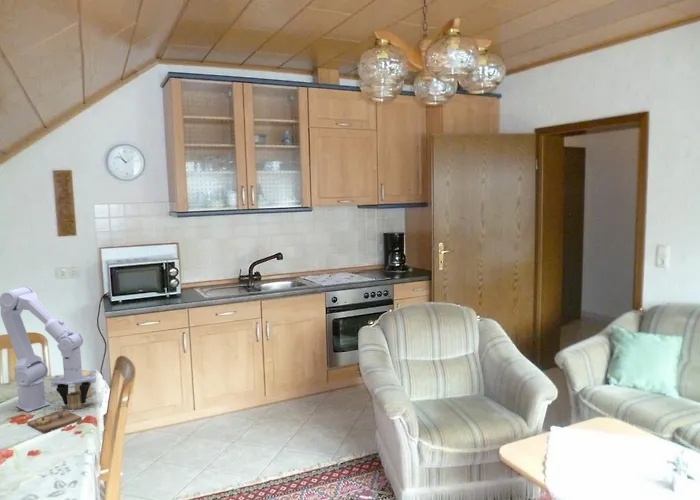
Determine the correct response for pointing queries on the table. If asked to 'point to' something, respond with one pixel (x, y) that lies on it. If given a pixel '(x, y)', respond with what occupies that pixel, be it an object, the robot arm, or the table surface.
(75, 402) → the maple gear
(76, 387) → the candle
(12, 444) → the table surface
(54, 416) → the gear board
